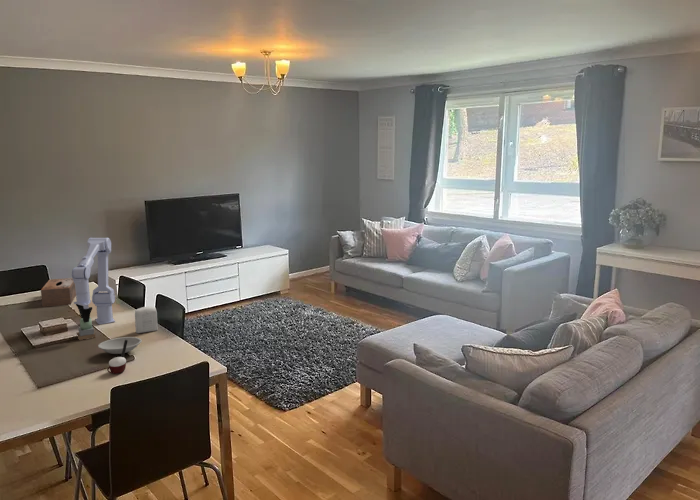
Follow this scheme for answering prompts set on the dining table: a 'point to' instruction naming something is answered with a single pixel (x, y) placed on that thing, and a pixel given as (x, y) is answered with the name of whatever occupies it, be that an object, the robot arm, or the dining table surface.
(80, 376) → the dining table surface
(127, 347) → the dish
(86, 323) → the pale green block
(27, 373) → the dining table surface
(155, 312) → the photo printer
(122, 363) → the cocoa
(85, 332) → the slate top block
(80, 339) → the walnut base block
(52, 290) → the tissue box cover
